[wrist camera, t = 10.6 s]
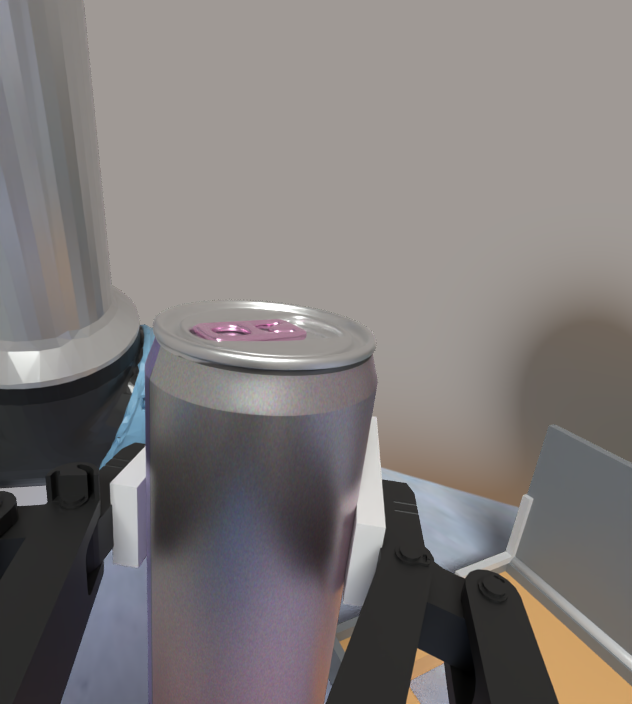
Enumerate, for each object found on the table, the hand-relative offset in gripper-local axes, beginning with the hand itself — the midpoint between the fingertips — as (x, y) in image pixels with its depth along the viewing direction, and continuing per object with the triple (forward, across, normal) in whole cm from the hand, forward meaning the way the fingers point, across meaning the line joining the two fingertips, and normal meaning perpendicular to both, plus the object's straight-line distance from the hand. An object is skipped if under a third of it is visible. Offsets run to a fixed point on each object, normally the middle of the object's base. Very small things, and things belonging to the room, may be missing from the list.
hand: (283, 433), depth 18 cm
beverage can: (-5, 0, -9) cm, 11 cm away
